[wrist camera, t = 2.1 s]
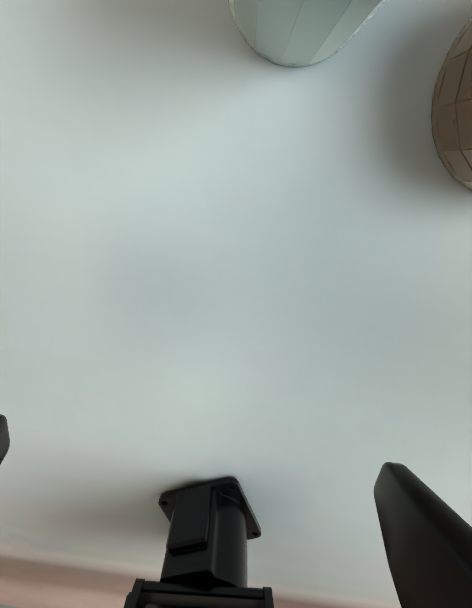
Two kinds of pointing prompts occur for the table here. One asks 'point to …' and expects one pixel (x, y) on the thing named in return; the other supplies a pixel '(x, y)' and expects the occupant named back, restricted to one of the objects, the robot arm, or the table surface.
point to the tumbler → (300, 27)
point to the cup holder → (455, 109)
